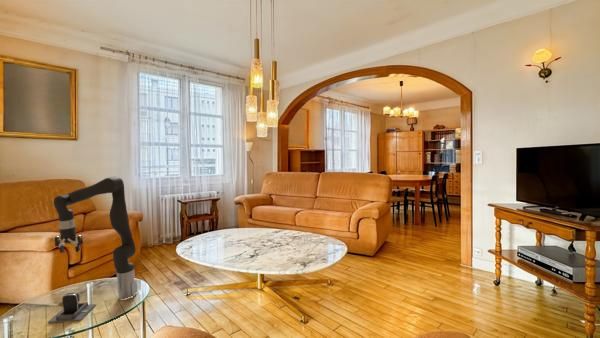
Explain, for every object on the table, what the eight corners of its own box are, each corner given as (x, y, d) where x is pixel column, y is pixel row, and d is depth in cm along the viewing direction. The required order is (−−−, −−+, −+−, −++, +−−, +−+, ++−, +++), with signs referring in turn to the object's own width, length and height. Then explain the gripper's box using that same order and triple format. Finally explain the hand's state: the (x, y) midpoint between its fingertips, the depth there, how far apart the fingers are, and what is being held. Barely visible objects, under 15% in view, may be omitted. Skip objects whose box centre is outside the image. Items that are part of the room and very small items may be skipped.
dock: (95, 305, 166) (95, 300, 166) (80, 321, 152) (80, 315, 152) (66, 307, 164) (65, 302, 164) (47, 323, 150) (47, 318, 150)
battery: (81, 309, 160) (79, 291, 159) (77, 314, 157) (75, 294, 155) (67, 311, 159) (65, 292, 158) (63, 315, 156) (61, 296, 154)
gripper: (83, 224, 177) (86, 249, 179) (59, 225, 175) (61, 250, 177) (76, 228, 169) (78, 254, 171) (49, 229, 168) (52, 255, 170)
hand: (70, 252), depth 174 cm, fingers open, 8 cm apart
